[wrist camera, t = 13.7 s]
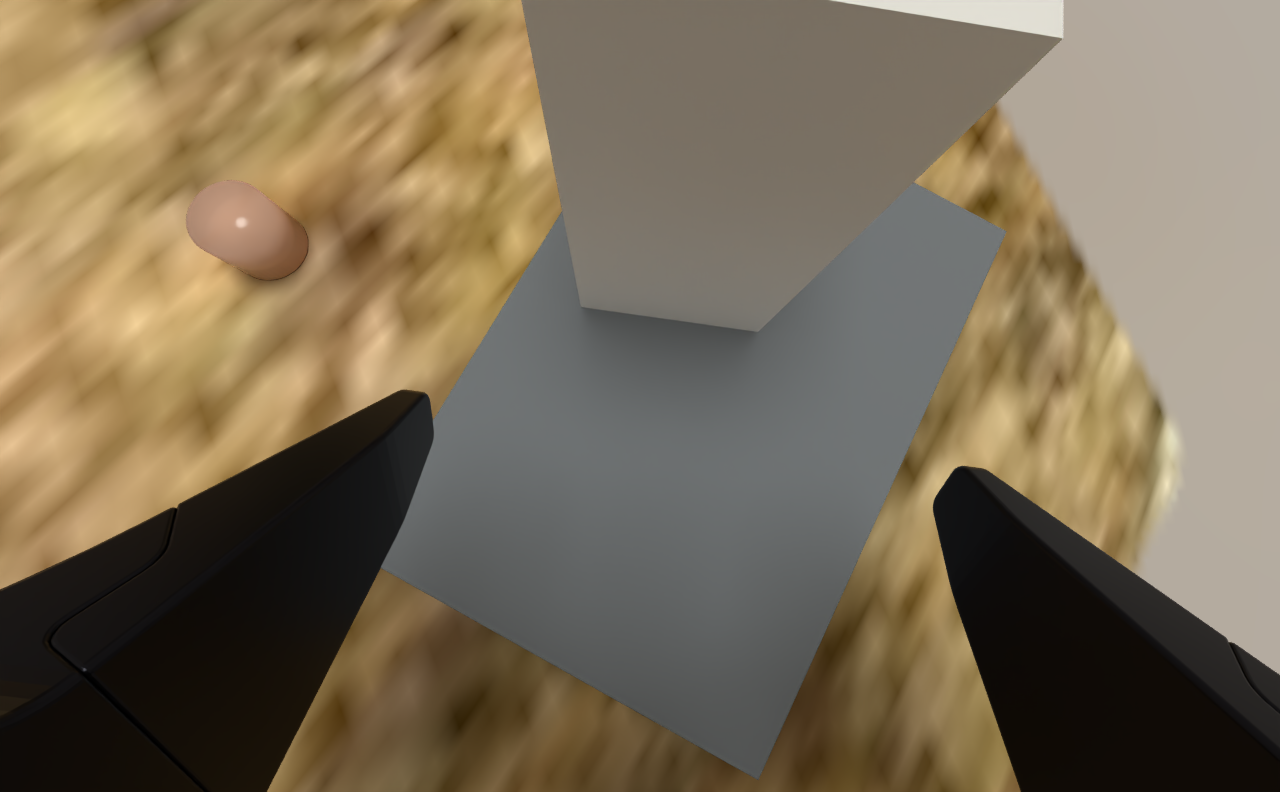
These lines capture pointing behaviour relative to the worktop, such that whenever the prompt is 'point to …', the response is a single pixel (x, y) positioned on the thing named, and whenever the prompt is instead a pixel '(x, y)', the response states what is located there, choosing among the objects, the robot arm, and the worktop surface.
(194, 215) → the pink capsule pill
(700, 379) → the mat
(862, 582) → the worktop surface
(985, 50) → the white rectangular block
